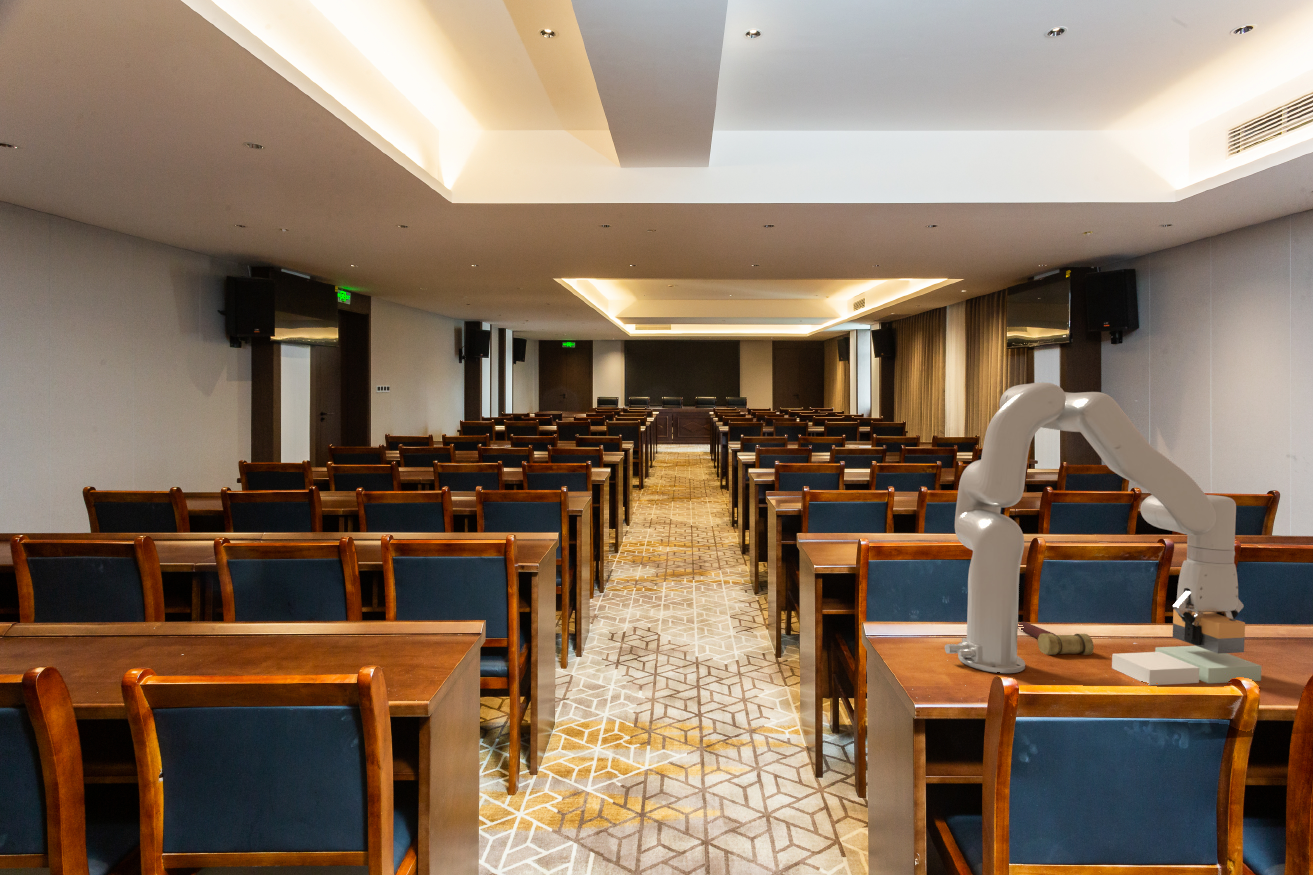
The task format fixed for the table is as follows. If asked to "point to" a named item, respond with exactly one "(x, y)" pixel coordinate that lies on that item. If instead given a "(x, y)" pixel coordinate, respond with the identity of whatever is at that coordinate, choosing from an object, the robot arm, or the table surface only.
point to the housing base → (1213, 642)
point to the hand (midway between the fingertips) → (1207, 641)
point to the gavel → (1059, 641)
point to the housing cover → (1216, 625)
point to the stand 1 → (1155, 668)
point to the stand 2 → (1214, 664)
